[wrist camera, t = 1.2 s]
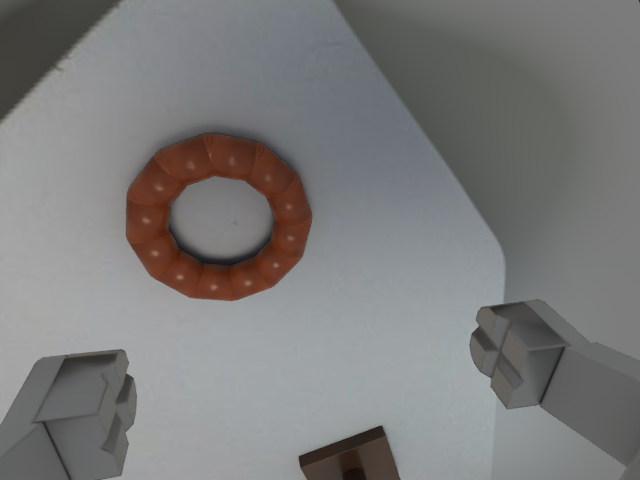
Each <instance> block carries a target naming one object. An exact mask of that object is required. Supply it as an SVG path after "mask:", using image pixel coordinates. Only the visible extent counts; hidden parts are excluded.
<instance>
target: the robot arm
mask: <svg viewBox="0 0 640 480" xmlns="http://www.w3.org/2000/svg"><path fill="white" fill-rule="evenodd" d="M476 321H477V323H478V325H479V327H478V328H477V329H476V330H475V331H474V332H473V333H472V335H471V339H470V344H469V345H470V352H471V357H472V359H473V361H474V364H475V365H476V367H477V368H478V370H479V371H480V372H481V373H483V374H485V375H486V376H488V377H490V378H491V386H490V387H491V388H492V389H493V391H494V392H495V393H496V395H497V396H498V398H499V399H500V400H501V402H502V403H503V404H504V406H505V407H506V409H513V408H521V407H528V406H535V405H541V406H540V407H541V408H543V409H544V410H546V411H547V412H548V413H550V414H551V415H553V416H554V417H556V418H557V419H558V420H560V421H561V422H563V423H564V424H566V425H567V426H569V427H570V428H571V429H573V430H574V431H576V432H577V433H579V434H580V435H581V436H583V437H584V438H586V439H587V440H589V441H590V442H592V443H593V444H595V445H596V446H598V447H599V448H600V449H602V450H603V451H605V452H606V453H607V454H609V455H610V456H612V457H613V458H615V459H616V460H618V461H619V462H621V463H622V464H623V465H625V466H626V467H627V468H626V469H625V471H624V472H623V474H622V475H621V477H620V479H619V480H640V361H639V360H637V359H635V358H632V357H630V356H628V355H625V354H623V353H621V352H618V351H616V350H614V349H611V348H609V347H607V346H604V345H601V344H599V343H597V342H596V343H590V342H589V341H588V340H587V339H586V338H585V337H584V336H583V335H581V334H580V333H579V332H578V331H577V330H576V329H575V328H574V327H572V326H571V325H570V324H569V323H568V322H567V321H566V320H565V319H563V318H562V317H561V316H560V315H559V314H558V313H557V312H556V311H554V310H553V309H552V308H551V307H550V306H549V305H548V304H546V302H544V301H541V300H539V299H536V300H529V301H521V302H518V303H517V302H516V303H508V304H500V305H492V306H484V307H481V309H480V310H479V311H478V313H477V316H476ZM128 365H129V361H128V358H127V355H126V352H125V351H124V350H122V349H119V350H108V351H98V352H87V353H77V354H70V355H61V356H51V357H42V358H41V359H40V360H38V361H37V362H36V363H35V364H34V366H33V368H32V370H31V372H30V373H29V375H28V377H27V379H26V380H25V382H24V384H23V386H22V388H21V389H20V391H19V393H18V395H17V396H16V398H15V400H14V402H13V404H12V405H11V407H10V409H9V411H8V412H7V414H6V416H5V418H4V420H3V421H2V423H1V425H0V480H102V479H107V478H112V477H117V476H121V475H122V470H123V466H124V462H125V458H126V454H127V449H128V445H129V443H128V440H127V436H126V433H125V432H126V431H127V430H128V429H129V428H130V427H131V426H132V425H133V424H134V419H135V414H136V404H137V394H136V386H135V382H134V378H133V377H131V376H130V375H128V374H127V373H126V372H127V368H128Z"/></svg>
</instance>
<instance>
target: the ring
mask: <svg viewBox="0 0 640 480" xmlns="http://www.w3.org/2000/svg"><path fill="white" fill-rule="evenodd" d="M213 176H217V177H224V178H230V179H236V180H243V181H246V182H247V183H248V184H250V185H251V186H252V187H253V188H255V189H256V190H257V191H259V192H260V193H261V194H263V195H264V196H265V197H266V198H267V200H268V203H269V205H270V208H271V210H272V213H273V215H274V218H275V220H274V225H273V229H272V234H271V239H270V241H269V242H268V243H267V244H266V245H265V246H264V247H263V248H262V249H261V250H260V251H259V252H258V254H257V255H256V256H255V257H253V258H250V259H247V260H244V261H241V262H239V263H236V264H233V265H230V266H229V265H218V264H208V263H202V262H200V261H199V260H197V259H195V258H194V257H192V256H190V255H189V254H187V253H185V252H184V251H182V250H180V248H179V246H178V244H177V243H176V241H175V239H174V237H173V236H172V234H171V232H170V230H169V217H170V206H171V204H172V203H173V202H174V201H175V199H176V198H177V197H178V196H179V195H180V193H181V192H182V191H183V190H184V189H185V187H186V186H188V185H191V184H193V183H196V182H199V181H202V180H205V179H208V178H211V177H213ZM311 223H312V212H311V209H310V206H309V203H308V200H307V197H306V194H305V191H304V188H303V185H302V182H301V179H300V176H299V175H298V173H297V172H296V171H295V170H294V169H293V168H291V167H290V166H289V165H288V164H287V163H285V162H284V161H283V160H282V159H281V158H279V157H278V156H277V155H276V154H275V153H273V152H272V151H271V150H270V149H269V148H267V147H266V146H265V145H264V144H262V143H260V142H257V141H252V140H247V139H242V138H236V137H231V136H225V135H220V134H215V133H206V134H203V135H200V136H197V137H194V138H191V139H188V140H185V141H182V142H180V143H177V144H174V145H171V146H168V147H165V148H163V149H160V150H159V151H158V152H156V154H155V155H154V156H153V157H152V158H151V160H150V161H149V162H148V164H147V165H146V166H145V167H144V169H143V170H142V171H141V172H140V174H139V175H138V176H137V178H136V179H135V180H134V181H133V183H132V184H131V185H130V187H129V189H128V192H127V205H126V237H127V240H128V242H129V244H130V245H131V247H132V248H133V250H134V251H135V253H136V255H137V256H138V258H139V259H140V261H141V262H142V264H143V265H144V267H145V269H146V270H147V272H148V273H149V274H150V275H151V276H152V277H153V278H154V279H156V280H158V281H160V282H162V283H164V284H165V285H167V286H169V287H171V288H173V289H175V290H176V291H178V292H180V293H182V294H184V295H186V296H187V297H190V298H196V299H211V300H225V301H235V300H239V299H241V298H244V297H247V296H250V295H252V294H255V293H258V292H261V291H264V290H266V289H269V288H272V287H273V286H275V285H276V284H277V283H278V282H279V281H280V280H281V279H282V278H283V277H284V276H285V275H286V274H287V273H288V272H289V271H290V270H291V269H292V268H293V267H294V266H295V265H296V264H297V263H298V262H299V260H300V259H301V258H302V256H303V254H304V250H305V246H306V242H307V238H308V234H309V231H310V227H311Z"/></svg>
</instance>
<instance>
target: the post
mask: <svg viewBox="0 0 640 480" xmlns="http://www.w3.org/2000/svg"><path fill="white" fill-rule="evenodd" d="M299 462H300V468H301V470H302V471H303V473H304V475H305V477H306V478H307V480H400V477H399V474H398V471H397V468H396V465H395V462H394V459H393V456H392V453H391V450H390V447H389V444H388V441H387V438H386V435H385V433H384V430H383V427H382V426H380V427H378V428H375V429H372V430H370V431H367V432H364V433H362V434H359V435H356V436H354V437H351V438H348V439H346V440H343V441H340V442H338V443H335V444H332V445H330V446H327V447H324V448H322V449H319V450H316V451H313V452H311V453H308V454H305V455H303V456H300V457H299Z"/></svg>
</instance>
